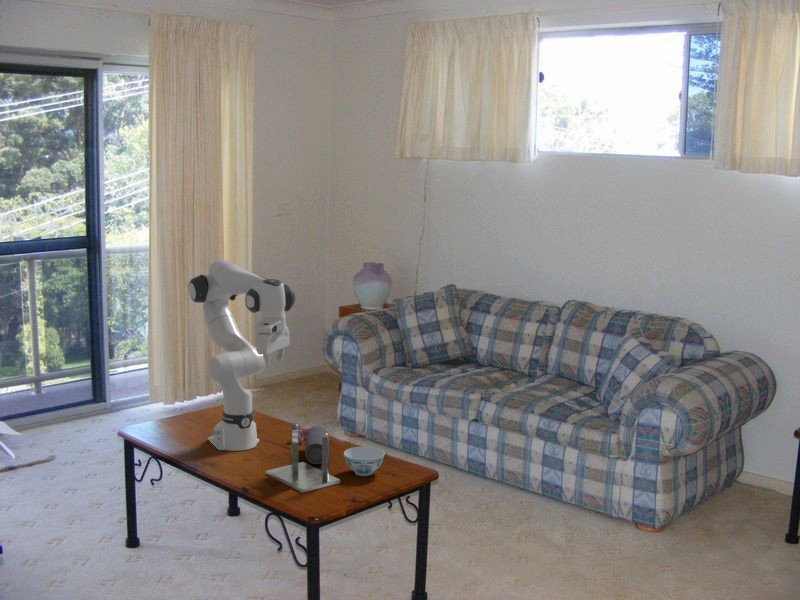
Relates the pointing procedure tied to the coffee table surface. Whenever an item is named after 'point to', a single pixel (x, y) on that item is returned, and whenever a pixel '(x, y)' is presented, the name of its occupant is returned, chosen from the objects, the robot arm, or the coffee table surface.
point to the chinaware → (364, 459)
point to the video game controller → (304, 431)
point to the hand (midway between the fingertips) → (274, 362)
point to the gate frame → (307, 471)
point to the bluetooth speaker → (314, 444)
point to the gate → (295, 454)
